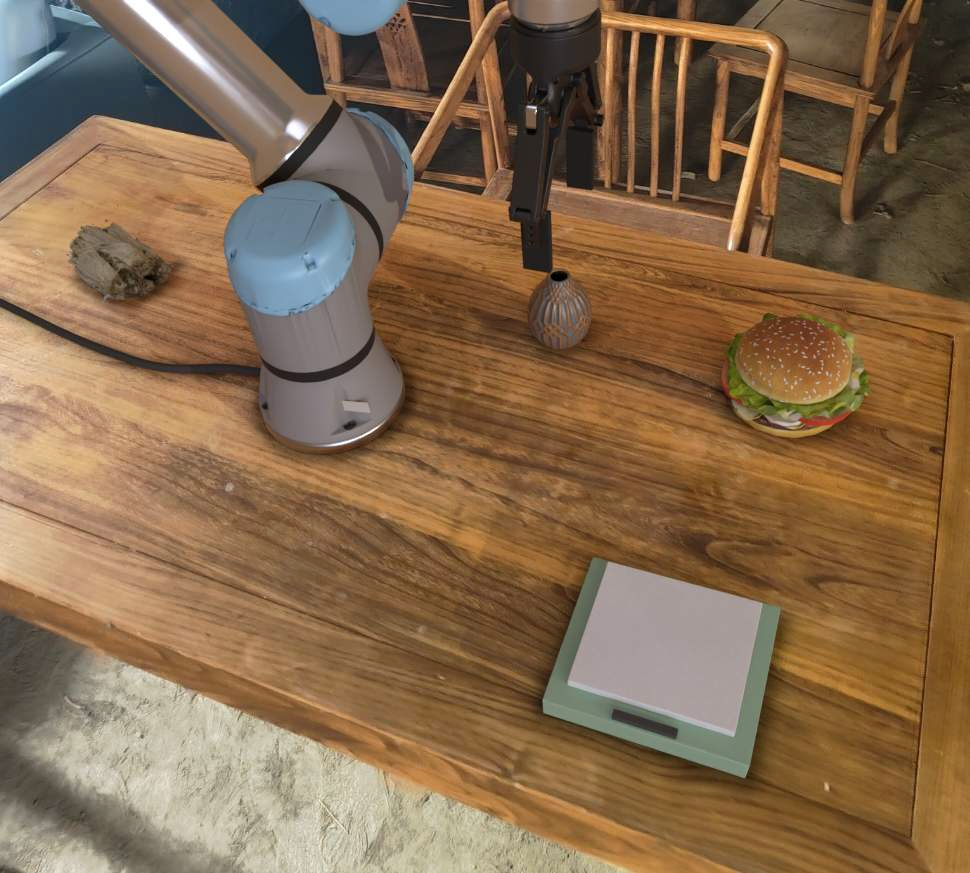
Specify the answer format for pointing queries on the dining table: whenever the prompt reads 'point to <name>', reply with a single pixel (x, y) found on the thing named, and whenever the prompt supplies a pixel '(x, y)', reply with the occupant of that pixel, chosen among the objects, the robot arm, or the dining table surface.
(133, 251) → the grey-brown fibrous clump
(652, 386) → the dining table surface
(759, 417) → the food
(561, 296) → the vase
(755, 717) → the scale
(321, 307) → the robot arm
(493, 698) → the dining table surface
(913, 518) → the dining table surface
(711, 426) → the dining table surface
